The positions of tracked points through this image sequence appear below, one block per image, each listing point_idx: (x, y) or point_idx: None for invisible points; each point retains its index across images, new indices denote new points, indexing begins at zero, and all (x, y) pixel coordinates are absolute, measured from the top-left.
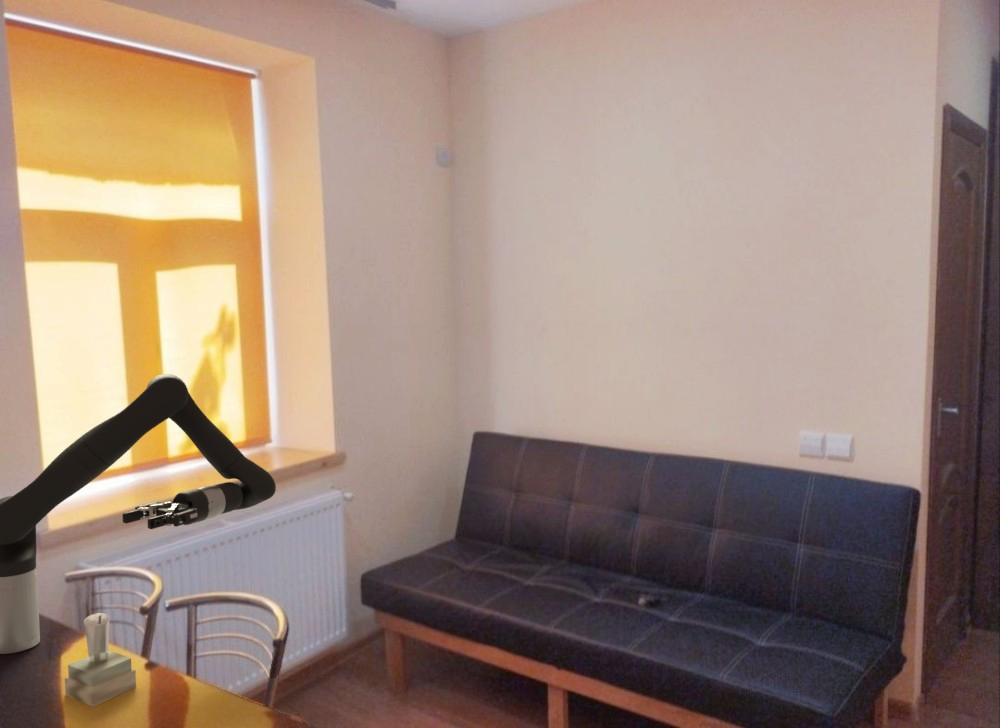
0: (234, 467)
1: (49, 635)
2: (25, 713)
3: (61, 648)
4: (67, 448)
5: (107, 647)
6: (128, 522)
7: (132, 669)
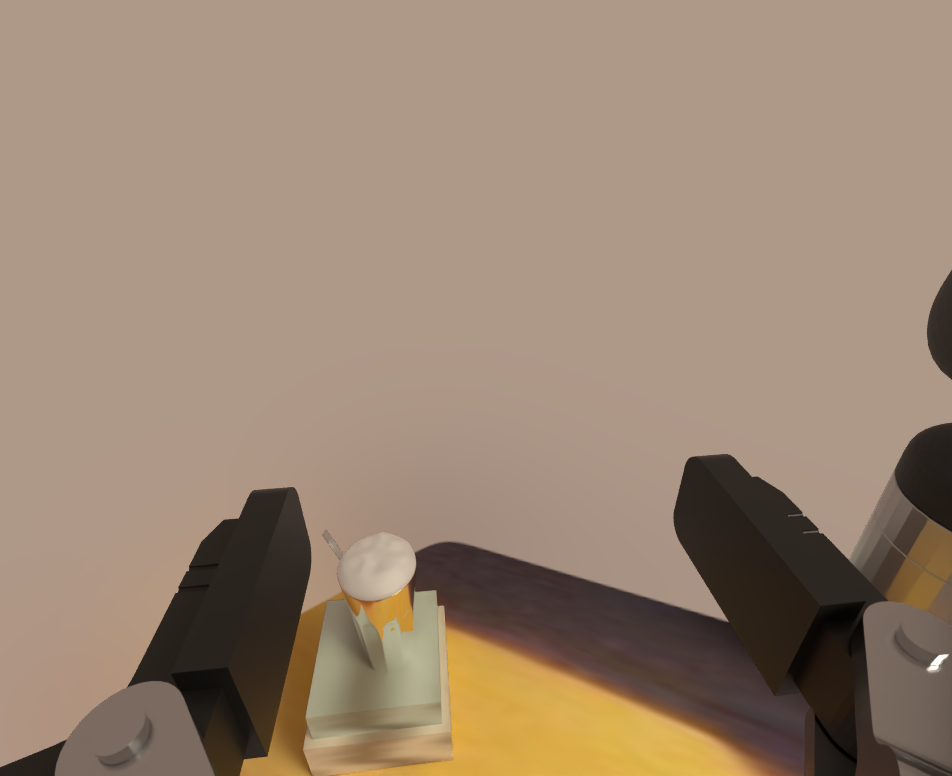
0: None
1: None
2: (439, 559)
3: (785, 766)
4: None
5: (365, 645)
6: (688, 552)
7: (313, 744)
